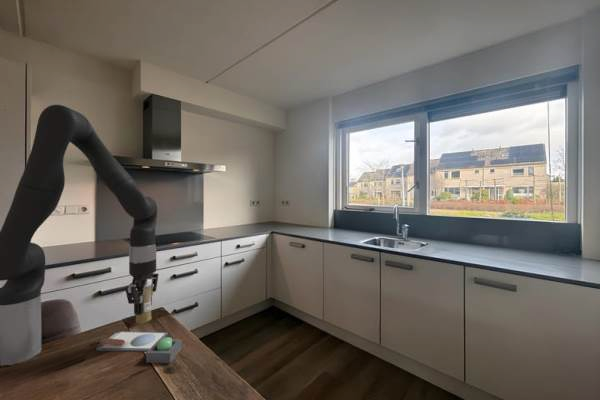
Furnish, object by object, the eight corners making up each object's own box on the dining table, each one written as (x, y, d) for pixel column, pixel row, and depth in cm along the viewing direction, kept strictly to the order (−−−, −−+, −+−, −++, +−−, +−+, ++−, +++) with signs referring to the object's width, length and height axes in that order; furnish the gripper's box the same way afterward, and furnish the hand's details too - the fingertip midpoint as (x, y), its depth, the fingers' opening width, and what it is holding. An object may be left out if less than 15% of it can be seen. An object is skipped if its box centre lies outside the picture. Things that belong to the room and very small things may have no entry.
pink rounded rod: (100, 344, 81) (101, 339, 81) (104, 341, 82) (105, 336, 82) (122, 346, 81) (122, 341, 80) (125, 343, 82) (126, 338, 82)
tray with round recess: (96, 350, 79) (96, 347, 79) (119, 332, 89) (119, 329, 89) (151, 352, 79) (151, 348, 79) (168, 334, 89) (168, 330, 89)
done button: (154, 354, 76) (154, 344, 76) (161, 346, 80) (161, 337, 80) (167, 355, 76) (167, 345, 76) (174, 346, 80) (174, 337, 80)
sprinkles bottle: (152, 321, 83) (152, 280, 83) (135, 325, 81) (135, 282, 81) (151, 315, 87) (151, 276, 87) (135, 319, 85) (134, 278, 84)
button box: (146, 362, 74) (146, 352, 74) (159, 348, 81) (159, 338, 81) (170, 363, 74) (170, 353, 74) (181, 348, 81) (181, 339, 81)
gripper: (145, 253, 91) (145, 301, 91) (115, 264, 76) (115, 321, 77) (166, 253, 91) (166, 301, 91) (140, 265, 76) (140, 321, 77)
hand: (143, 310), depth 84 cm, fingers closed on sprinkles bottle, 4 cm apart
